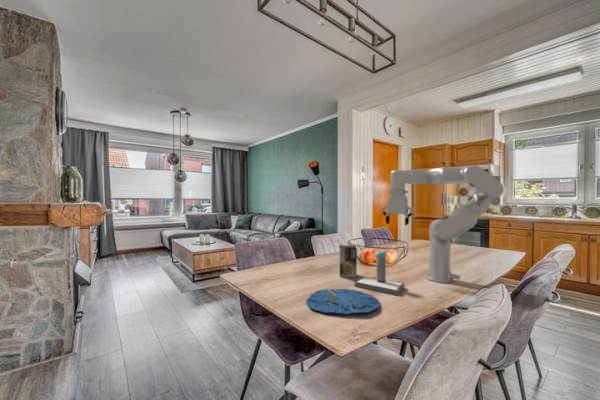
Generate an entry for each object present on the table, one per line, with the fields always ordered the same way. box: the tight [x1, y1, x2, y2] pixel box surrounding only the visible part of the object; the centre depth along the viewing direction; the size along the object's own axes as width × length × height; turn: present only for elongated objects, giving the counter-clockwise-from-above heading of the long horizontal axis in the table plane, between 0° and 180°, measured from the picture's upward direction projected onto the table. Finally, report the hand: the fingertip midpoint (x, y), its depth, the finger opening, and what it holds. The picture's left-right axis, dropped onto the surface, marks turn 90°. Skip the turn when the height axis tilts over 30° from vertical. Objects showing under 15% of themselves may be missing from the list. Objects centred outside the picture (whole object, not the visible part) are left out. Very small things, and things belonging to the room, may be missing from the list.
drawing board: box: [354, 275, 405, 296], centre depth 123 cm, size 20×12×2 cm, turn 55°
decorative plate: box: [305, 288, 381, 315], centre depth 105 cm, size 30×30×5 cm
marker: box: [376, 251, 387, 283], centre depth 125 cm, size 4×4×14 cm
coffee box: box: [338, 244, 358, 278], centre depth 141 cm, size 9×6×16 cm
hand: (397, 224), depth 141 cm, fingers open, 9 cm apart
